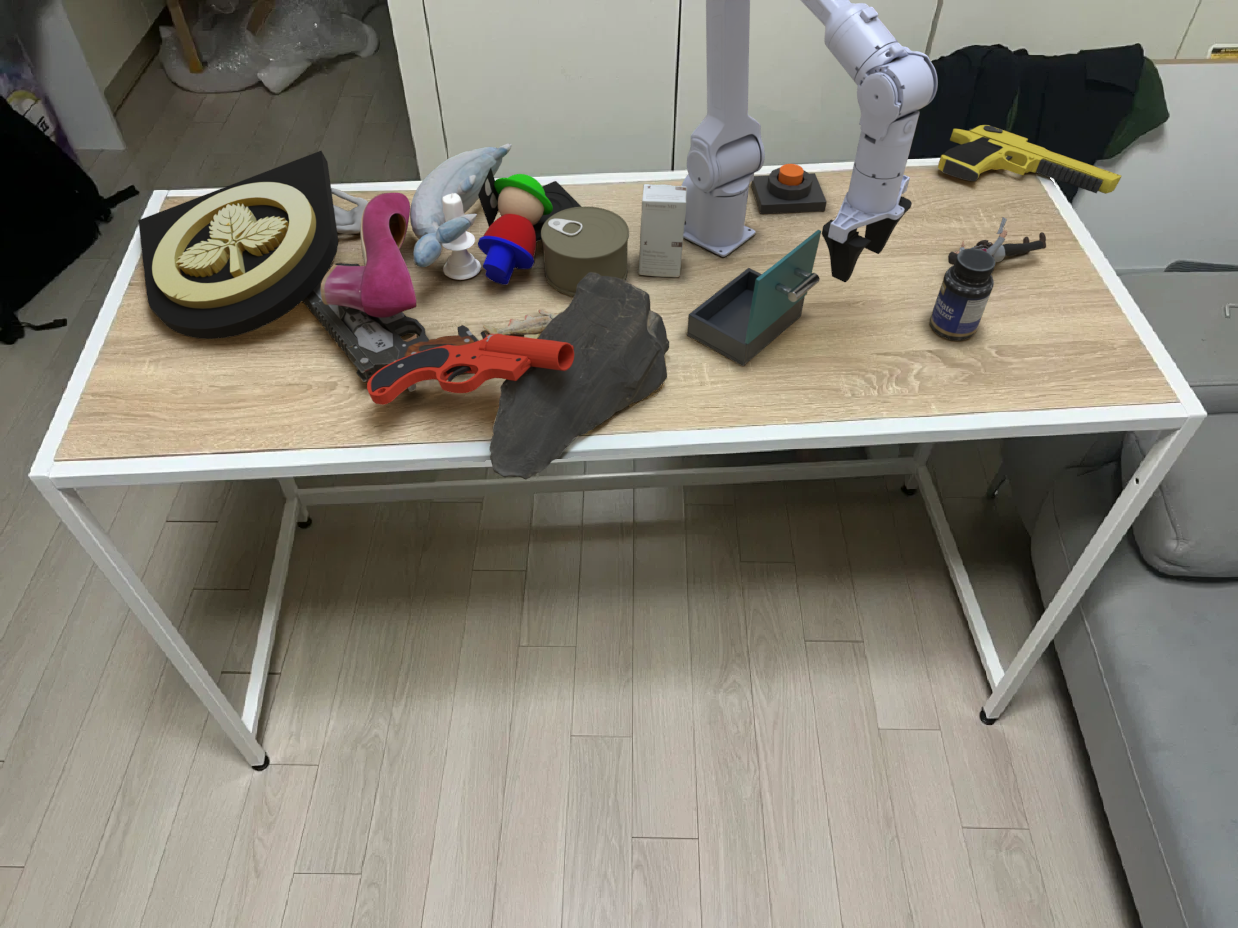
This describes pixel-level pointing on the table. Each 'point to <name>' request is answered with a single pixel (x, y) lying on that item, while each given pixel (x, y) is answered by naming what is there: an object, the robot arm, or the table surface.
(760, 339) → the dark gray box base
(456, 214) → the candle
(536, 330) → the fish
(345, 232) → the figurine
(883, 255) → the table surface
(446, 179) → the sculpture
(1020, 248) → the action figure
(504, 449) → the stone
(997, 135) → the handgun
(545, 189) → the light switch
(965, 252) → the pill bottle
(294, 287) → the decorative plaque
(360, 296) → the high heel
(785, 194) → the block
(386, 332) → the fictional weapon
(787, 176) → the button
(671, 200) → the cosmetic box
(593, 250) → the can
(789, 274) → the teal flat panel
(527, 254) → the toy figure
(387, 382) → the flare gun
